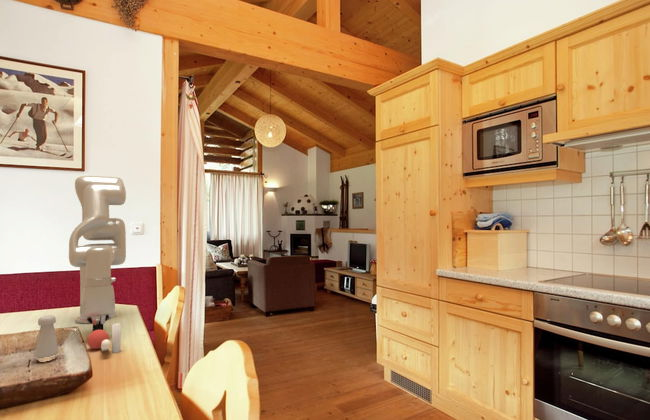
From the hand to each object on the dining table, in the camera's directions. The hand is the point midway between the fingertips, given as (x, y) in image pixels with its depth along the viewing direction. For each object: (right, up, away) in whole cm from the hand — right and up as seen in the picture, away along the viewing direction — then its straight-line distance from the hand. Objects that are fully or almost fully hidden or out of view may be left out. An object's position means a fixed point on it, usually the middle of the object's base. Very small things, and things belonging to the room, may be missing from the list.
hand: (97, 335), depth 131 cm
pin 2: (+13, -1, -12) cm, 18 cm away
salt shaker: (-4, -1, -19) cm, 19 cm away
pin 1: (+9, 0, -11) cm, 14 cm away
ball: (+5, +2, -9) cm, 11 cm away
